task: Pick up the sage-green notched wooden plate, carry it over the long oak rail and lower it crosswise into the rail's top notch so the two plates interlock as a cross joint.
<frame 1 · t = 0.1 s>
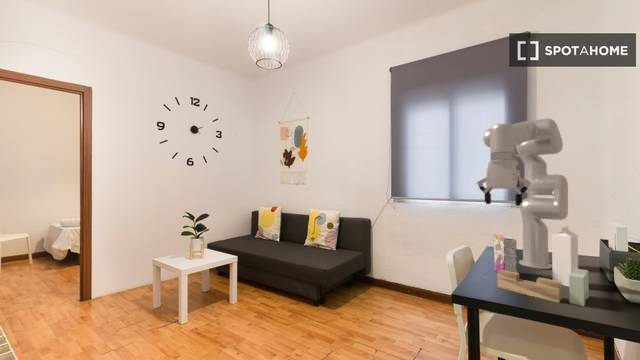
hand: (502, 204, 107), 31 cm above the table, tool pointing down, fingers open, 9 cm apart
cross plate: (579, 299, 97), on the table
milk: (565, 284, 112), on the table
candy bar box: (505, 275, 123), on the table
oak rail: (527, 293, 103), on the table
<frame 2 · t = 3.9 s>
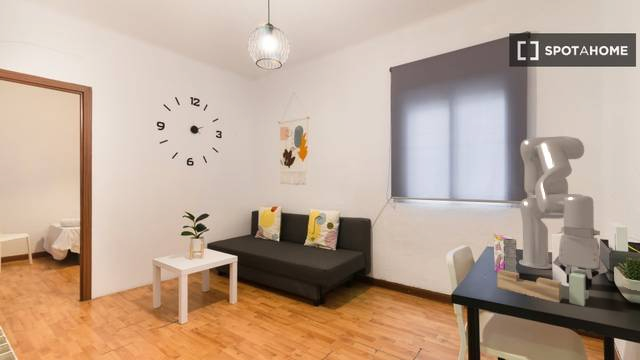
hand: (579, 287, 97), 4 cm above the table, tool pointing down, fingers closed on cross plate, 3 cm apart
cross plate: (579, 299, 97), on the table, touching gripper
everything else where it was.
when the fingers open (7 cm above the table, at t = 9.2 s): cross plate drops 1 cm, resting on oak rail.
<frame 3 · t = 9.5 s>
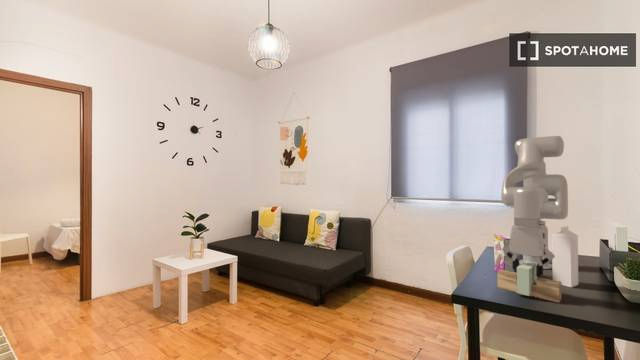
hand: (527, 273, 103), 7 cm above the table, tool pointing down, fingers open, 6 cm apart
cross plate: (527, 290, 103), point 1 cm above the table, touching oak rail
everything else where it was.
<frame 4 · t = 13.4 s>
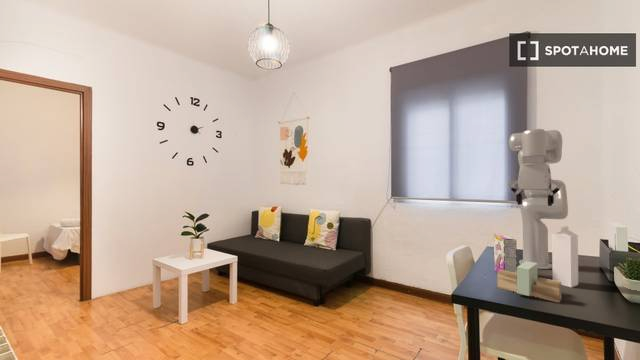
hand: (534, 205, 114), 30 cm above the table, tool pointing down, fingers open, 9 cm apart
nothing on the table moved.
at the end: cross plate 0.1 cm off-centre on the oak rail, point 1.0 cm above the oak rail's base; cross plate tilted 0°; the gripper is holding nothing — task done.
